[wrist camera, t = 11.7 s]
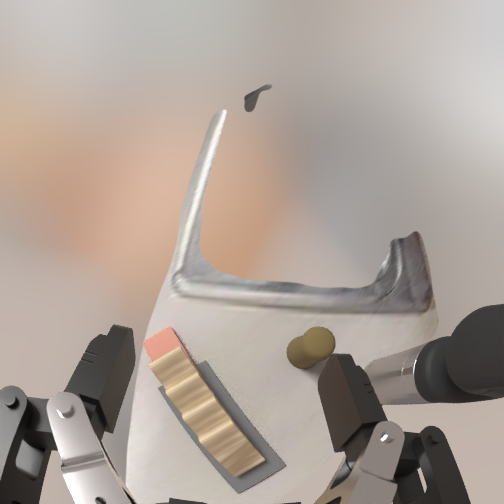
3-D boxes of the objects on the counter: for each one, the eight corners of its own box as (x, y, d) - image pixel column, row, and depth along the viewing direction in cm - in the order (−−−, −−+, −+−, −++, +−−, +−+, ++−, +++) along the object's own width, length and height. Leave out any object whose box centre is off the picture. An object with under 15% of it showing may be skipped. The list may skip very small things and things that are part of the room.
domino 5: (265, 459, 35) (232, 422, 35) (235, 477, 33) (199, 441, 33) (261, 454, 37) (229, 417, 36) (232, 471, 35) (198, 436, 34)
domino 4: (249, 441, 36) (215, 399, 36) (219, 458, 35) (182, 418, 34) (246, 436, 38) (213, 395, 38) (217, 453, 36) (181, 413, 36)
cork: (314, 372, 45) (336, 366, 35) (282, 363, 45) (296, 356, 35) (322, 340, 47) (344, 327, 38) (291, 332, 48) (306, 316, 38)
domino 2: (215, 396, 40) (180, 347, 39) (185, 413, 38) (148, 366, 37) (213, 392, 41) (179, 345, 41) (184, 409, 39) (149, 363, 39)
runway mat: (285, 464, 36) (286, 465, 36) (237, 492, 33) (237, 493, 32) (205, 360, 45) (205, 360, 44) (158, 388, 41) (157, 388, 41)
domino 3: (232, 419, 38) (198, 374, 38) (202, 437, 36) (165, 393, 36) (230, 415, 40) (196, 371, 39) (200, 432, 38) (165, 389, 38)
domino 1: (200, 374, 41) (170, 326, 45) (170, 392, 39) (142, 342, 43) (201, 375, 43) (172, 328, 47) (173, 392, 41) (145, 344, 45)
